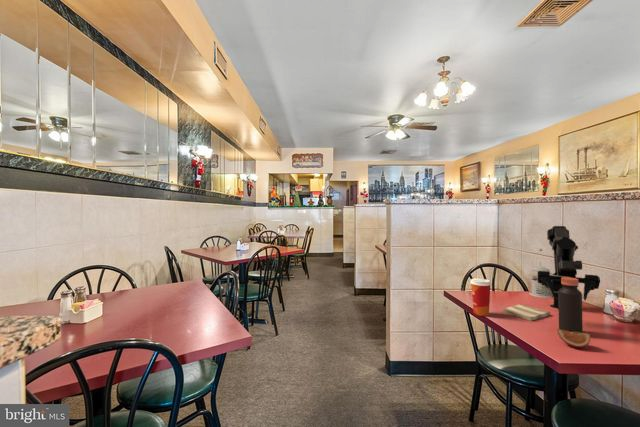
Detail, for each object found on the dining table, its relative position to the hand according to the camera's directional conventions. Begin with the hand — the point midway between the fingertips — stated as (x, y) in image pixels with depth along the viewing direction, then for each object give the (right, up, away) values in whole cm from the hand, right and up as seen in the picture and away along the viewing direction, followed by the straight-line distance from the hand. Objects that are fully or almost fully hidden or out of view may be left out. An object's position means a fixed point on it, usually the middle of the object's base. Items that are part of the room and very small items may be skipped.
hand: (568, 297), depth 111 cm
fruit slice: (-10, -12, -13) cm, 21 cm away
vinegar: (-2, -12, -3) cm, 13 cm away
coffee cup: (-24, -12, +18) cm, 32 cm away
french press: (+24, -12, +44) cm, 51 cm away
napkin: (-4, -12, +17) cm, 21 cm away
